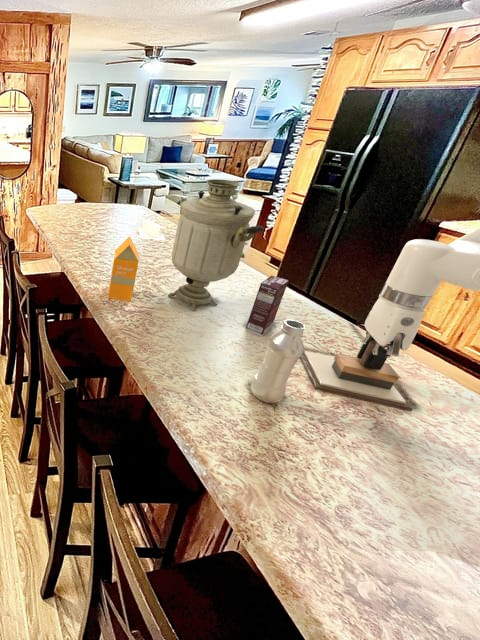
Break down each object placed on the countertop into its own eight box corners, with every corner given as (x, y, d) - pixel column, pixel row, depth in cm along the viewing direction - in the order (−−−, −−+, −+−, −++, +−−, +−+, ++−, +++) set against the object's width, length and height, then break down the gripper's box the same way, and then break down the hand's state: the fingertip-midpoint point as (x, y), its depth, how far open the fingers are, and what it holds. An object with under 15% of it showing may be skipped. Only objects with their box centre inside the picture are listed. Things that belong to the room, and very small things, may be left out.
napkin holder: (138, 228, 200) (140, 218, 197) (161, 230, 198) (163, 220, 195) (141, 238, 187) (143, 227, 184) (165, 240, 185) (168, 229, 182)
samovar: (266, 325, 118) (316, 195, 100) (181, 324, 117) (216, 193, 100) (216, 282, 144) (248, 173, 127) (147, 281, 144) (169, 172, 126)
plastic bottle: (279, 393, 91) (311, 321, 82) (281, 411, 85) (315, 336, 77) (248, 383, 94) (275, 312, 85) (248, 400, 88) (277, 327, 80)
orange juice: (107, 298, 132) (116, 243, 123) (109, 286, 139) (117, 234, 130) (131, 301, 130) (142, 246, 121) (131, 290, 137) (141, 237, 128)
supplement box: (254, 320, 120) (271, 274, 113) (272, 327, 117) (290, 280, 110) (243, 330, 115) (260, 282, 108) (261, 337, 112) (279, 288, 105)
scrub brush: (381, 376, 95) (400, 342, 90) (391, 390, 90) (412, 355, 86) (330, 365, 98) (346, 332, 94) (337, 378, 94) (355, 344, 89)
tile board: (379, 368, 100) (381, 364, 99) (411, 411, 86) (414, 406, 86) (297, 351, 106) (299, 347, 105) (315, 389, 92) (317, 384, 92)
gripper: (449, 317, 76) (405, 389, 84) (407, 283, 90) (372, 348, 98) (401, 309, 79) (362, 380, 87) (367, 278, 92) (336, 341, 100)
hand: (368, 363), depth 92 cm, fingers closed on scrub brush, 2 cm apart
